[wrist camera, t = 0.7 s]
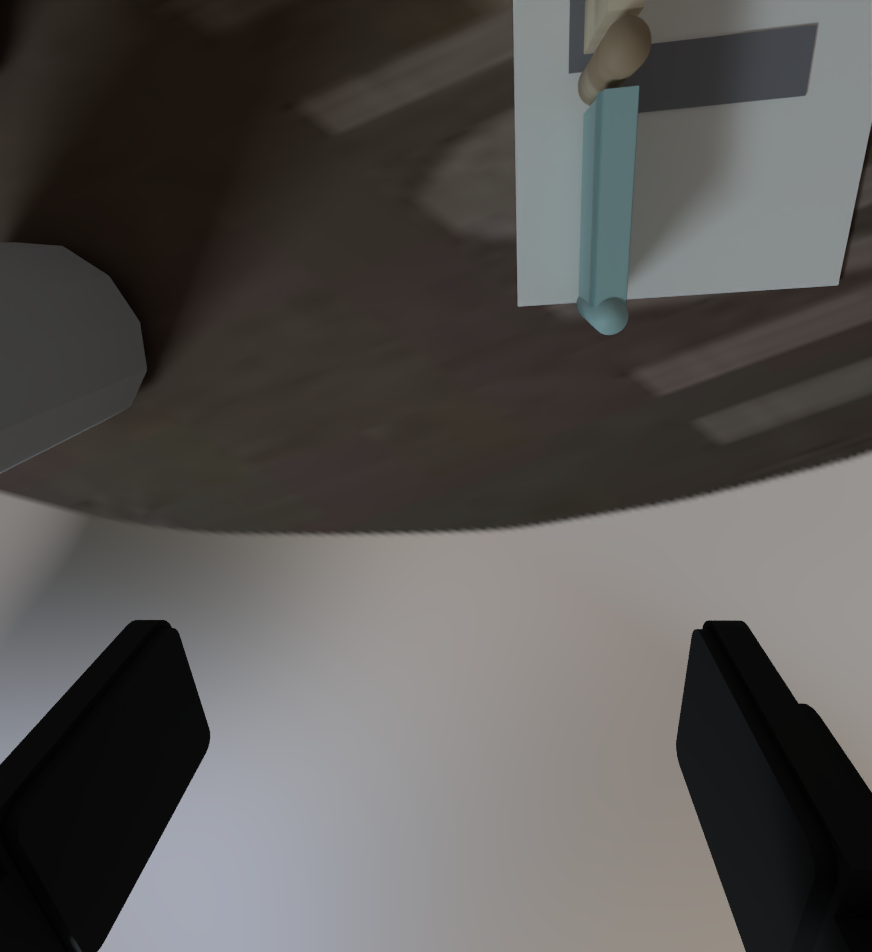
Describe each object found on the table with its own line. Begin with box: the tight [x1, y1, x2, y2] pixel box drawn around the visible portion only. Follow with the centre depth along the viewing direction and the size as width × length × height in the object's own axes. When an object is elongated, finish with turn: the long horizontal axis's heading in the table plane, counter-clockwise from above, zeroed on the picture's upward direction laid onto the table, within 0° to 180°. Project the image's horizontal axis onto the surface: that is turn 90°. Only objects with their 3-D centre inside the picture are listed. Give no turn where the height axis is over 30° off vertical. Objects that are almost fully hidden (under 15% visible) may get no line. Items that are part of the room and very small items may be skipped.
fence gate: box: [576, 86, 640, 335], centre depth 23 cm, size 9×1×5 cm, turn 5°
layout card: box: [513, 0, 872, 306], centre depth 24 cm, size 17×15×1 cm
